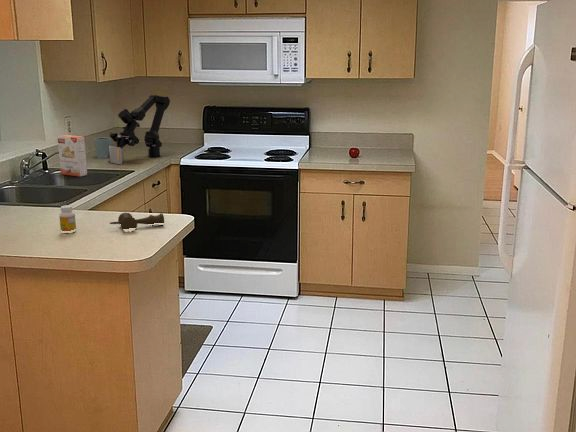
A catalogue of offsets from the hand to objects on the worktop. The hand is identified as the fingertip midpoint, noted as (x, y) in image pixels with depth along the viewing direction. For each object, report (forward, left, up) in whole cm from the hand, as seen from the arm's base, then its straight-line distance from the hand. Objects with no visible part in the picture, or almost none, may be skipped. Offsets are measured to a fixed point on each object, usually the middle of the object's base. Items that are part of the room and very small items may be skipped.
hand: (118, 149), depth 368 cm
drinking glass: (+3, -28, -9) cm, 29 cm away
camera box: (0, -9, -8) cm, 12 cm away
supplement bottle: (+49, +136, -9) cm, 145 cm away
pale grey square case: (+2, -1, -8) cm, 8 cm away
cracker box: (+29, +23, -9) cm, 38 cm away
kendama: (+25, +141, -9) cm, 144 cm away
